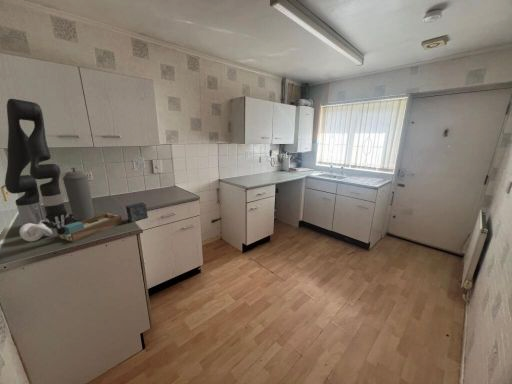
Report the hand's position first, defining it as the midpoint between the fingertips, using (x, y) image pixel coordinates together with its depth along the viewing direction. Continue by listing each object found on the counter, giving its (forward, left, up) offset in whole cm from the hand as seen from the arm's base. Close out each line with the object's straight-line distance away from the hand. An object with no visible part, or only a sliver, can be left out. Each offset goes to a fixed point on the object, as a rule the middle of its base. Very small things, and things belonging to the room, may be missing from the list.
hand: (61, 233), depth 110 cm
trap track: (0, +15, -4) cm, 15 cm away
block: (0, +6, -1) cm, 6 cm away
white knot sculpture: (-16, -3, -4) cm, 16 cm away
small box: (+10, +37, -4) cm, 39 cm away
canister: (-25, +24, -4) cm, 35 cm away
